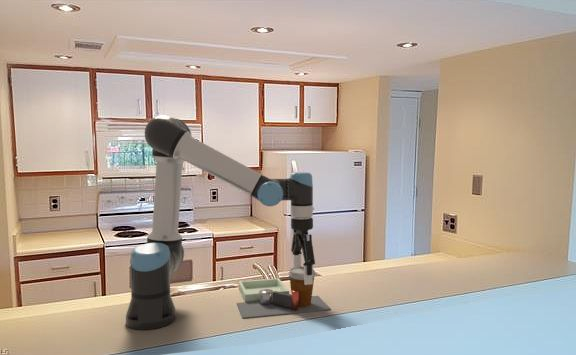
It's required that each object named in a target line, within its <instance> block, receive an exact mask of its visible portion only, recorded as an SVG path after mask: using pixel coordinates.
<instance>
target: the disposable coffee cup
mask: <svg viewBox="0 0 576 355" xmlns="http://www.w3.org/2000/svg"><path fill="white" fill-rule="evenodd" d="M287 274H288V277H289V284H290V292H291V295H292V290H298V291H299V307H308V306H310V305H311V298H312V296H313V289H314V281H315V276H316V274H317V273H316V272H315V269H314V268H313V284H309V285H305V284H304V266H301V267H294V268H293V267H291V268H290V269H289V271H288V272H287Z"/></svg>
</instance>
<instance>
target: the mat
mask: <svg viewBox="0 0 576 355" xmlns="http://www.w3.org/2000/svg"><path fill="white" fill-rule="evenodd" d="M236 306H237V308H238V310H239V313H240V314H239V315H241V318H242V319H253V318H254V319H255V318H264V317H273V316H274V317H275V316H284V315H293V314H304V313H313V312H314V313H315V312H316V313H317V312H322V311H323V312H324V311H325V312H326V311H331V310H332V308H331V307H330V306H328V304H327V303H326V301H324V300H323V299H322V298H321V297H320V296H319V295H312V298H311V305H310V306H308V307H299V309H298V310H292V309H290V308H286V307H282V306H278V305H274V304H272V305H260V304H259V301H252V302H244V301H243V302H236Z"/></svg>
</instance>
